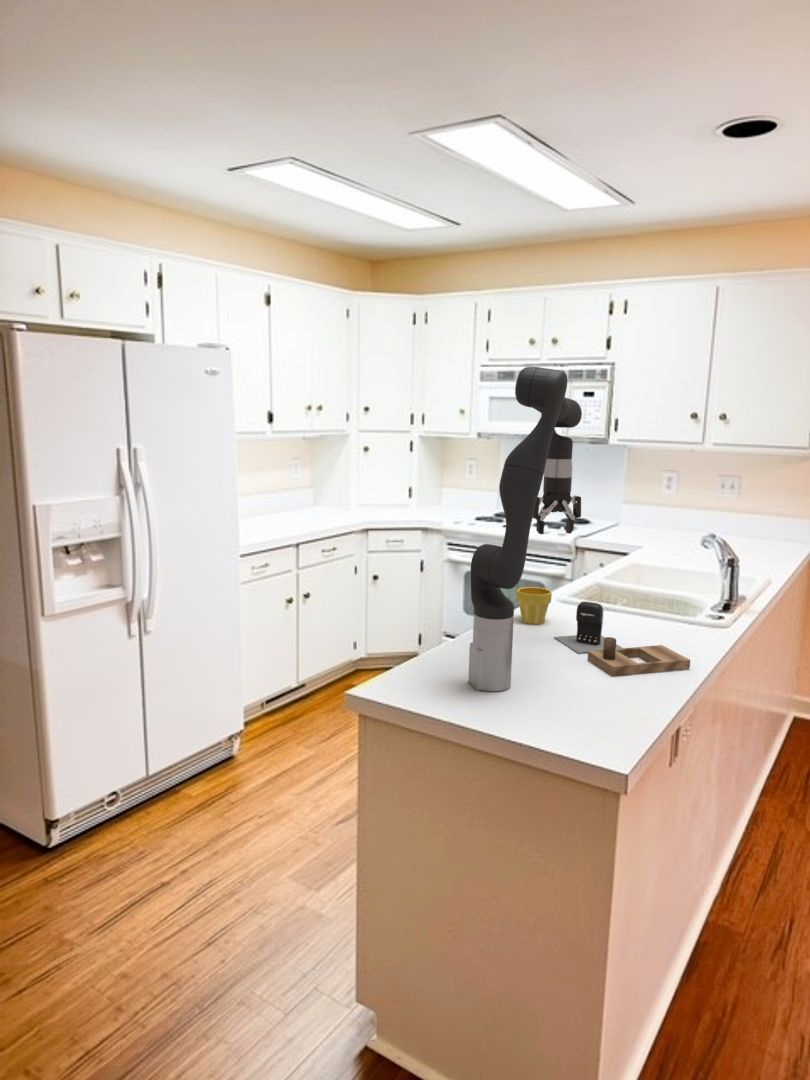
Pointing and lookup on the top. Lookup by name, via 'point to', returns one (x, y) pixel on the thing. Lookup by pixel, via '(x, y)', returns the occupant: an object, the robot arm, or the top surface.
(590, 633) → the battery charger
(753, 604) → the top surface
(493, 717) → the top surface
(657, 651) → the plane body
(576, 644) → the rubber mat
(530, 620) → the plant pot
